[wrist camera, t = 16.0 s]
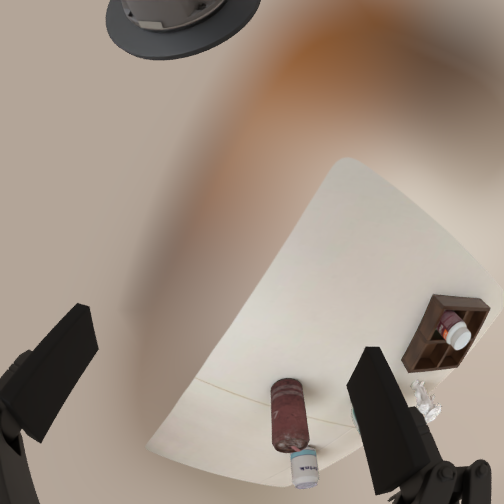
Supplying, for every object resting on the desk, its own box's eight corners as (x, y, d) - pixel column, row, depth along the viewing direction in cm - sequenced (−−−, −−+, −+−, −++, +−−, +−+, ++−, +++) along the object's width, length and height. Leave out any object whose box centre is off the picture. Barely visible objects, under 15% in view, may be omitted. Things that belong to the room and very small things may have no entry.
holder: (432, 294, 40) (443, 305, 37) (480, 298, 41) (490, 308, 37) (401, 360, 46) (408, 373, 42) (450, 356, 46) (457, 367, 42)
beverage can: (319, 444, 57) (324, 480, 46) (309, 455, 60) (313, 489, 49) (295, 444, 57) (298, 481, 46) (286, 454, 60) (288, 489, 48)
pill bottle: (428, 316, 41) (450, 343, 33) (446, 299, 40) (470, 324, 32) (435, 329, 42) (455, 356, 34) (452, 314, 41) (474, 338, 33)
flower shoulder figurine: (401, 387, 49) (418, 426, 38) (412, 375, 48) (432, 414, 37) (421, 392, 50) (439, 427, 39) (432, 381, 49) (451, 416, 38)
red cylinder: (287, 400, 50) (291, 457, 37) (264, 388, 48) (264, 448, 35) (309, 386, 48) (318, 444, 35) (286, 373, 47) (292, 435, 34)
